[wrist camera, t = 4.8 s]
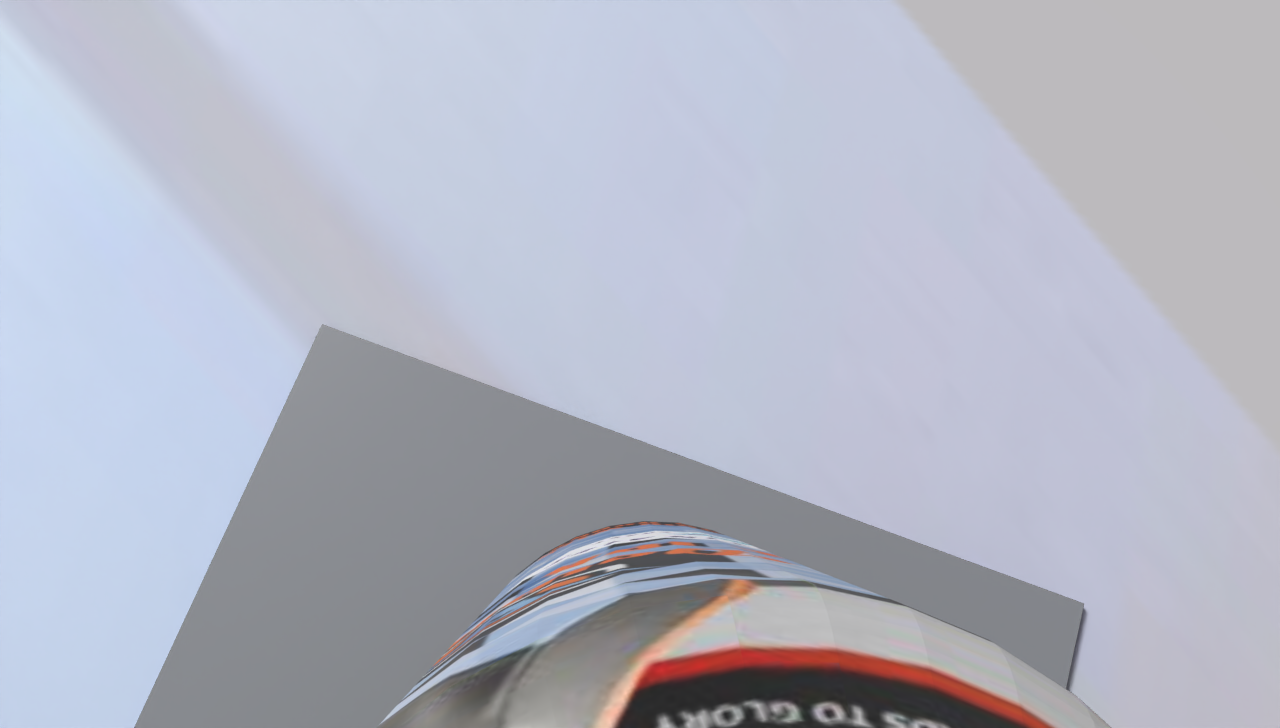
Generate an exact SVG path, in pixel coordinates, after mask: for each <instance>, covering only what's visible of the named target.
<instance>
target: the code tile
mask: <svg viewBox="0 0 1280 728" xmlns="http://www.w3.org/2000/svg"><path fill="white" fill-rule="evenodd" d="M642 521H651V522H675V523H682V524H687V525H691V526H696V527H700V528H705V529H709V530H713V531H716V532H718V533H721V534H723V535H726V536H729V537H731V538H734V539H736V540H739V541H741V542H744V543H747V544H749V545H752V546H754V547H757V548H760V549H762V550H765V551H767V552H770V553H772V554H775V555H778V556H780V557H783V558H785V559H788V560H790V561H793V562H796V563H798V564H801V565H803V566H806V567H809V568H811V569H814V570H816V571H819V572H821V573H824V574H827V575H829V576H832V577H834V578H837V579H840V580H842V581H845V582H847V583H850V584H852V585H855V586H858V587H860V588H863V589H865V590H868V591H871V592H873V593H876V594H878V595H881V596H883V597H886V598H889V599H891V600H894V601H896V602H899V603H902V604H904V605H906V606H909V607H911V608H914V609H916V610H918V611H921V612H923V613H926V614H928V615H930V616H933V617H935V618H938V619H940V620H942V621H945V622H947V623H950V624H952V625H954V626H957V627H959V628H962V629H964V630H966V631H969V632H971V633H974V634H976V635H978V636H981V637H983V638H986V639H988V640H990V641H992V642H993V643H995V644H996V645H998V646H999V647H1001V648H1002V649H1004V650H1006V651H1007V652H1009V653H1010V654H1012V655H1013V656H1015V657H1017V658H1018V659H1020V660H1021V661H1023V662H1024V663H1026V664H1028V665H1029V666H1031V667H1032V668H1034V669H1035V670H1037V671H1039V672H1040V673H1042V674H1043V675H1045V676H1046V677H1048V678H1049V679H1051V680H1053V681H1054V682H1056V683H1057V684H1059V685H1060V686H1062V687H1064V688H1065V689H1066V686H1067V681H1068V677H1069V672H1070V667H1071V663H1072V658H1073V653H1074V649H1075V644H1076V639H1077V635H1078V630H1079V626H1080V621H1081V616H1082V612H1083V607H1084V603H1081V602H1078V601H1076V600H1073V599H1070V598H1067V597H1065V596H1062V595H1059V594H1056V593H1054V592H1051V591H1048V590H1046V589H1043V588H1040V587H1037V586H1035V585H1032V584H1029V583H1026V582H1024V581H1021V580H1018V579H1016V578H1013V577H1010V576H1007V575H1005V574H1002V573H999V572H996V571H994V570H991V569H988V568H986V567H983V566H980V565H977V564H975V563H972V562H969V561H966V560H964V559H961V558H958V557H956V556H953V555H950V554H947V553H945V552H942V551H939V550H936V549H934V548H931V547H928V546H926V545H923V544H920V543H917V542H915V541H912V540H909V539H906V538H904V537H901V536H898V535H896V534H893V533H890V532H887V531H885V530H882V529H879V528H876V527H874V526H871V525H868V524H866V523H863V522H860V521H857V520H855V519H852V518H849V517H846V516H844V515H841V514H838V513H836V512H833V511H830V510H827V509H825V508H822V507H819V506H816V505H814V504H811V503H808V502H806V501H803V500H800V499H797V498H795V497H792V496H789V495H786V494H784V493H781V492H778V491H776V490H773V489H770V488H767V487H765V486H762V485H759V484H756V483H754V482H751V481H748V480H746V479H743V478H740V477H737V476H735V475H732V474H729V473H726V472H724V471H721V470H718V469H716V468H713V467H710V466H707V465H705V464H702V463H699V462H696V461H694V460H691V459H688V458H686V457H683V456H680V455H677V454H675V453H672V452H669V451H666V450H664V449H661V448H658V447H656V446H653V445H650V444H647V443H645V442H642V441H639V440H636V439H634V438H631V437H628V436H626V435H623V434H620V433H617V432H615V431H612V430H609V429H606V428H604V427H601V426H598V425H596V424H593V423H590V422H587V421H585V420H582V419H579V418H576V417H574V416H571V415H568V414H566V413H563V412H560V411H557V410H555V409H552V408H549V407H546V406H544V405H541V404H538V403H536V402H533V401H530V400H527V399H525V398H522V397H519V396H516V395H514V394H511V393H508V392H506V391H503V390H500V389H497V388H495V387H492V386H489V385H486V384H484V383H481V382H478V381H476V380H473V379H470V378H467V377H465V376H462V375H459V374H456V373H454V372H451V371H448V370H446V369H443V368H440V367H437V366H435V365H432V364H429V363H426V362H424V361H421V360H418V359H416V358H413V357H410V356H407V355H405V354H402V353H399V352H396V351H394V350H391V349H388V348H386V347H383V346H380V345H377V344H375V343H372V342H369V341H366V340H364V339H361V338H358V337H356V336H353V335H350V334H347V333H345V332H342V331H339V330H336V329H334V328H331V327H328V326H326V325H323V324H322V325H321V328H320V330H319V332H318V334H317V336H316V338H315V341H314V343H313V345H312V347H311V349H310V351H309V353H308V356H307V358H306V360H305V362H304V364H303V366H302V368H301V371H300V373H299V375H298V377H297V379H296V381H295V383H294V386H293V388H292V390H291V392H290V394H289V396H288V399H287V401H286V403H285V405H284V407H283V409H282V411H281V414H280V416H279V418H278V420H277V422H276V424H275V426H274V429H273V431H272V433H271V435H270V437H269V439H268V441H267V444H266V446H265V448H264V450H263V452H262V454H261V457H260V459H259V461H258V463H257V465H256V467H255V469H254V472H253V474H252V476H251V478H250V480H249V482H248V484H247V487H246V489H245V491H244V493H243V495H242V497H241V499H240V502H239V504H238V506H237V508H236V510H235V512H234V514H233V517H232V519H231V521H230V523H229V525H228V527H227V530H226V532H225V534H224V536H223V538H222V540H221V542H220V545H219V547H218V549H217V551H216V553H215V555H214V557H213V560H212V562H211V564H210V566H209V568H208V570H207V572H206V575H205V577H204V579H203V581H202V583H201V585H200V588H199V590H198V592H197V594H196V596H195V598H194V600H193V603H192V605H191V607H190V609H189V611H188V613H187V615H186V618H185V620H184V622H183V624H182V626H181V628H180V630H179V633H178V635H177V637H176V639H175V641H174V643H173V646H172V648H171V650H170V652H169V654H168V656H167V658H166V661H165V663H164V665H163V667H162V669H161V671H160V673H159V676H158V678H157V680H156V682H155V684H154V686H153V688H152V691H151V693H150V695H149V697H148V699H147V701H146V704H145V706H144V708H143V710H142V712H141V714H140V716H139V719H138V721H137V723H136V725H135V727H134V728H377V727H378V725H379V724H380V723H381V722H382V721H383V720H384V719H385V718H386V717H387V716H388V715H389V713H390V712H391V711H392V710H393V709H394V708H395V707H396V706H397V705H398V704H399V703H400V701H401V700H402V699H403V698H404V697H405V696H406V695H407V694H408V693H409V692H410V691H411V689H412V688H413V687H414V686H415V685H416V684H417V683H418V682H419V681H420V680H421V679H422V677H423V676H424V675H425V674H426V673H427V672H428V671H429V670H430V669H431V668H432V667H433V666H434V664H435V663H436V662H437V661H438V660H439V659H440V658H441V657H442V656H443V655H444V654H445V652H446V651H447V650H448V649H449V648H450V647H451V646H452V645H453V644H454V643H455V642H456V640H457V639H458V638H459V637H460V636H461V635H462V634H463V633H464V632H465V631H466V630H467V628H468V627H469V626H470V625H471V624H472V623H473V622H474V621H475V620H476V619H477V618H478V616H479V615H480V614H481V613H482V612H483V611H484V610H485V609H486V608H487V607H488V606H489V604H490V603H491V602H492V601H493V600H494V599H495V598H496V597H497V596H498V595H499V594H500V593H501V591H502V590H503V589H504V588H505V587H506V586H507V585H508V584H509V583H510V582H511V581H512V579H513V578H514V577H515V576H516V575H517V574H519V573H520V572H521V571H522V570H524V569H525V568H526V567H528V566H529V565H530V564H531V563H533V562H534V561H535V560H537V559H538V558H539V557H540V556H542V555H543V554H544V553H546V552H548V551H550V550H552V549H554V548H555V547H557V546H559V545H561V544H563V543H565V542H567V541H569V540H571V539H572V538H574V537H576V536H580V535H583V534H586V533H589V532H592V531H595V530H598V529H601V528H604V527H607V526H612V525H620V524H627V523H634V522H642Z"/></svg>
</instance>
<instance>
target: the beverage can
mask: <svg viewBox="0 0 1280 728" xmlns="http://www.w3.org/2000/svg"><path fill="white" fill-rule="evenodd" d="M377 728H1111V727H1110V726H1109V725H1108V724H1107V723H1106V722H1105V721H1103V720H1102V719H1101V718H1100V717H1099V716H1098V715H1097V714H1096V713H1095V712H1094V711H1092V710H1091V709H1090V708H1089V707H1088V706H1087V705H1086V704H1085V703H1084V702H1082V701H1081V700H1080V699H1079V698H1078V697H1077V696H1076V695H1074V694H1073V693H1071V692H1070V691H1068V690H1067V689H1065V688H1064V687H1062V686H1060V685H1059V684H1057V683H1056V682H1054V681H1053V680H1051V679H1049V678H1048V677H1046V676H1045V675H1043V674H1042V673H1040V672H1039V671H1037V670H1035V669H1034V668H1032V667H1031V666H1029V665H1028V664H1026V663H1024V662H1023V661H1021V660H1020V659H1018V658H1017V657H1015V656H1013V655H1012V654H1010V653H1009V652H1007V651H1006V650H1004V649H1002V648H1001V647H999V646H998V645H996V644H995V643H993V642H992V641H990V640H988V639H986V638H983V637H981V636H978V635H976V634H974V633H971V632H969V631H966V630H964V629H962V628H959V627H957V626H954V625H952V624H950V623H947V622H945V621H942V620H940V619H938V618H935V617H933V616H930V615H928V614H926V613H923V612H921V611H918V610H916V609H914V608H911V607H909V606H906V605H904V604H902V603H899V602H896V601H894V600H891V599H889V598H886V597H883V596H881V595H878V594H876V593H873V592H871V591H868V590H865V589H863V588H860V587H858V586H855V585H852V584H850V583H847V582H845V581H842V580H840V579H837V578H834V577H832V576H829V575H827V574H824V573H821V572H819V571H816V570H814V569H811V568H809V567H806V566H803V565H801V564H798V563H796V562H793V561H790V560H788V559H785V558H783V557H780V556H778V555H775V554H772V553H770V552H767V551H765V550H762V549H760V548H757V547H754V546H752V545H749V544H747V543H744V542H741V541H739V540H736V539H734V538H731V537H729V536H726V535H723V534H721V533H718V532H716V531H713V530H709V529H705V528H700V527H696V526H691V525H687V524H682V523H675V522H651V521H642V522H634V523H627V524H620V525H612V526H607V527H604V528H601V529H598V530H595V531H592V532H589V533H586V534H583V535H580V536H576V537H574V538H572V539H571V540H569V541H567V542H565V543H563V544H561V545H559V546H557V547H555V548H554V549H552V550H550V551H548V552H546V553H544V554H543V555H542V556H540V557H539V558H538V559H537V560H535V561H534V562H533V563H531V564H530V565H529V566H528V567H526V568H525V569H524V570H522V571H521V572H520V573H519V574H517V575H516V576H515V577H514V578H513V579H512V581H511V582H510V583H509V584H508V585H507V586H506V587H505V588H504V589H503V590H502V591H501V593H500V594H499V595H498V596H497V597H496V598H495V599H494V600H493V601H492V602H491V603H490V604H489V606H488V607H487V608H486V609H485V610H484V611H483V612H482V613H481V614H480V615H479V616H478V618H477V619H476V620H475V621H474V622H473V623H472V624H471V625H470V626H469V627H468V628H467V630H466V631H465V632H464V633H463V634H462V635H461V636H460V637H459V638H458V639H457V640H456V642H455V643H454V644H453V645H452V646H451V647H450V648H449V649H448V650H447V651H446V652H445V654H444V655H443V656H442V657H441V658H440V659H439V660H438V661H437V662H436V663H435V664H434V666H433V667H432V668H431V669H430V670H429V671H428V672H427V673H426V674H425V675H424V676H423V677H422V679H421V680H420V681H419V682H418V683H417V684H416V685H415V686H414V687H413V688H412V689H411V691H410V692H409V693H408V694H407V695H406V696H405V697H404V698H403V699H402V700H401V701H400V703H399V704H398V705H397V706H396V707H395V708H394V709H393V710H392V711H391V712H390V713H389V715H388V716H387V717H386V718H385V719H384V720H383V721H382V722H381V723H380V724H379V725H378V727H377Z"/></svg>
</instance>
